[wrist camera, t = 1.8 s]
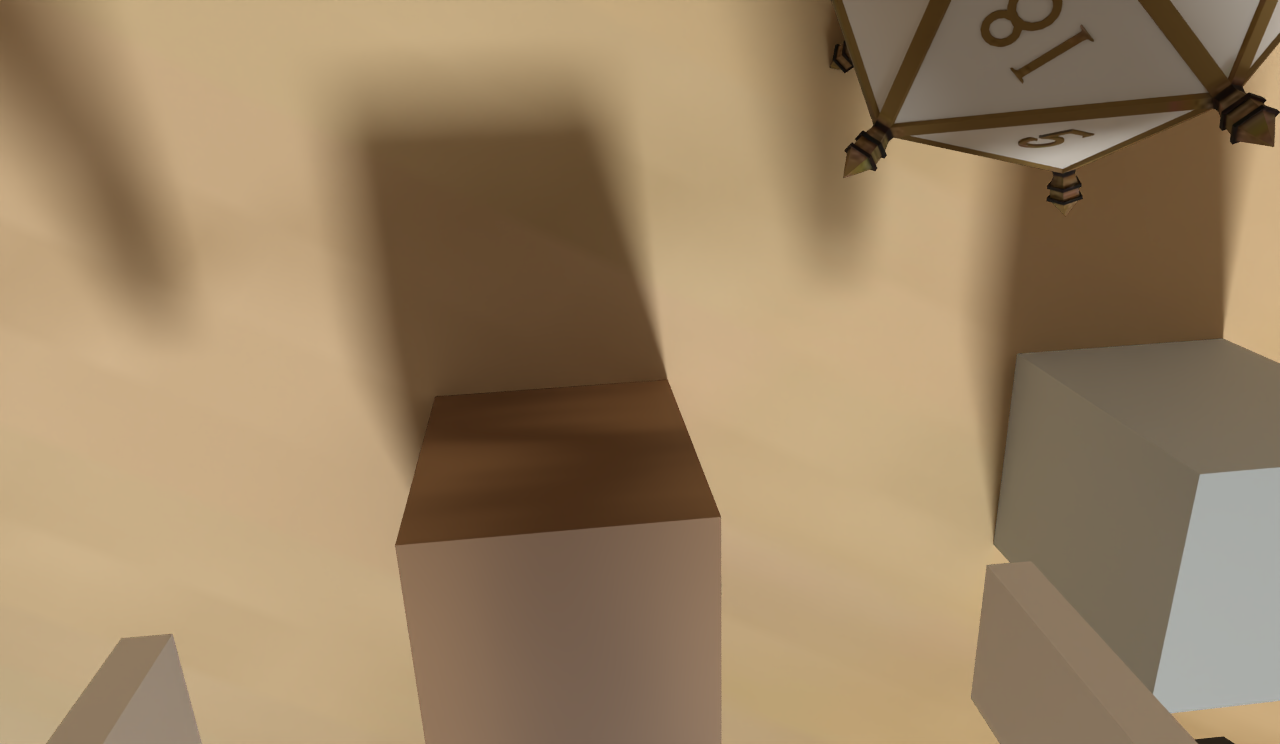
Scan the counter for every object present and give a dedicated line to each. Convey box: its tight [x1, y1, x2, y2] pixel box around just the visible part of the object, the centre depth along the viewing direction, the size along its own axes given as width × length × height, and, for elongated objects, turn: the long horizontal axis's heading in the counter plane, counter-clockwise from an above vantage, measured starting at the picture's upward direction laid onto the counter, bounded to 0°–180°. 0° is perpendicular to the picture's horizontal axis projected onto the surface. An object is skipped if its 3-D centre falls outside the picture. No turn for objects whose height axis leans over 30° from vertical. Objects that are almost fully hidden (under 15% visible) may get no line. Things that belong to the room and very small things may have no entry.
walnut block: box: [395, 380, 721, 744], centre depth 17 cm, size 5×5×6 cm
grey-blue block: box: [994, 338, 1280, 713], centre depth 19 cm, size 5×5×6 cm
